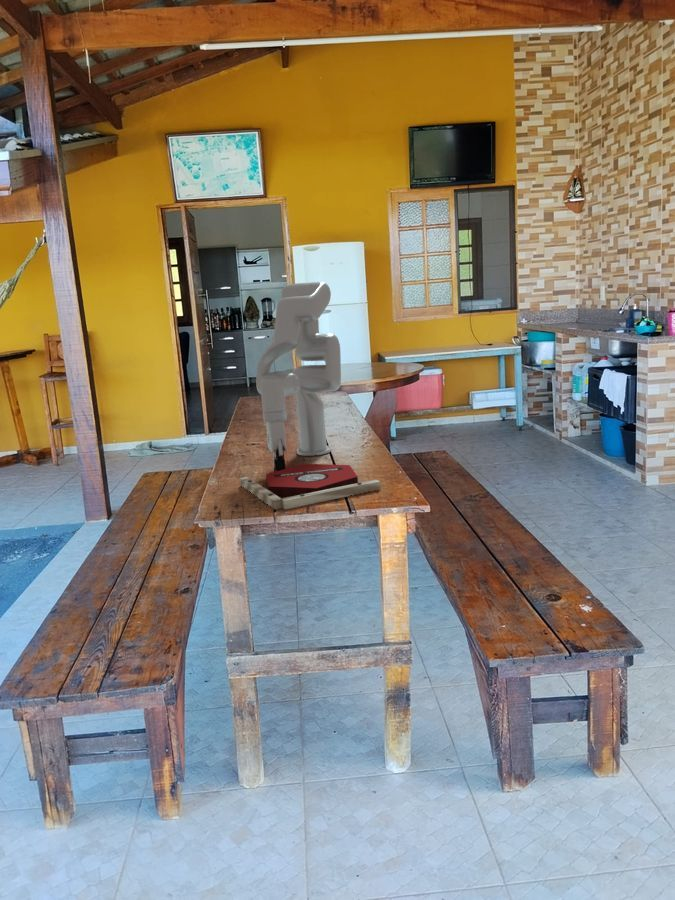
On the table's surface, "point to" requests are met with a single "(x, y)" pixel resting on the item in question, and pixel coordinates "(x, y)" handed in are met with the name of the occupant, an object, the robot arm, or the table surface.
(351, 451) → the table surface
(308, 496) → the corner rail
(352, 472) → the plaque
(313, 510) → the table surface
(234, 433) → the table surface
